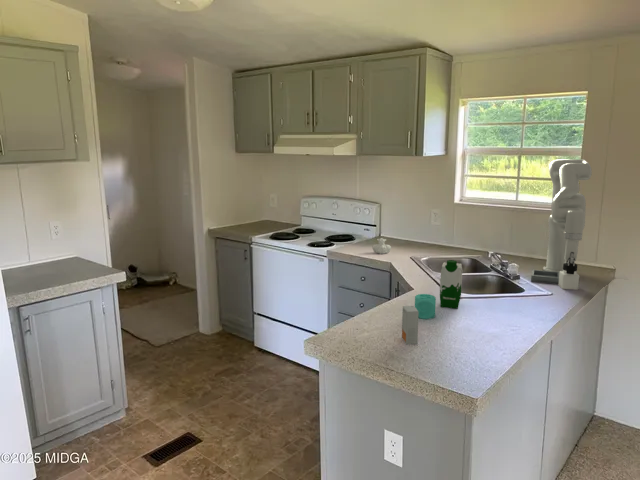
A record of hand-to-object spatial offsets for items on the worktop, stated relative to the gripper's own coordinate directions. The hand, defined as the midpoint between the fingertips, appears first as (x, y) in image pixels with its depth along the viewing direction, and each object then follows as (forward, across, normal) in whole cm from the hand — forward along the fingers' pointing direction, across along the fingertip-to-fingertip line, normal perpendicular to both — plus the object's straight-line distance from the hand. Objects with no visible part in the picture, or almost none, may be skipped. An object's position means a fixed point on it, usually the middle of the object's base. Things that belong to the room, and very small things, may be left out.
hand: (569, 271), depth 232 cm
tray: (+8, -11, -10) cm, 17 cm away
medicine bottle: (+8, 0, 0) cm, 8 cm away
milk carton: (+8, +51, -47) cm, 70 cm away
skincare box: (+8, +96, -53) cm, 110 cm away
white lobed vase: (+8, -36, -105) cm, 111 cm away
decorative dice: (+8, +68, -54) cm, 87 cm away
